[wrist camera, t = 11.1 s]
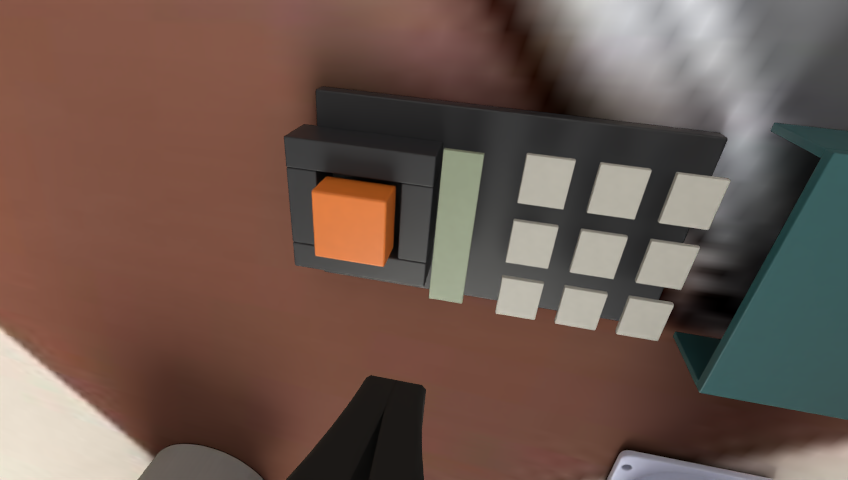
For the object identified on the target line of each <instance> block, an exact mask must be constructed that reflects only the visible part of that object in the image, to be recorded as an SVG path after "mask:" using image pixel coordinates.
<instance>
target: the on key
mask: <svg viewBox="0 0 848 480" xmlns="http://www.w3.org/2000/svg"><path fill="white" fill-rule="evenodd" d="M395 201H396V186H394V185H387V184H380V183H373V182H366V181H359V180H352V179H344V178H337V177H330V176H327V177H325V178H324V179H323V180H322V181H321V182H320V183H319V184H318V185H317V186H316V187H315V188H314V189H313V190H312V210H313V227H314V244H315V255H316V256H320V257H326V258H332V259H338V260H344V261H350V262H356V263H362V264H368V265H374V266H380V267H384V266H385V264H386V262H387V259H388V257H389V255H390V253H391V251H392V249H393V244H394V223H395Z"/></svg>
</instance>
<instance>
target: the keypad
mask: <svg viewBox="0 0 848 480" xmlns="http://www.w3.org/2000/svg"><path fill="white" fill-rule="evenodd" d="M483 160H484V153H480V152H472V151H465V150H457V149H449V148H444V151H443V161H442V171H441V181H440V191H439V201H438V211H437V221H436V231H435V240H434V250H433V260H432V270H431V280H430V290H429V298H432V299H438V300H444V301H450V302H456V303H462V301H463V294H464V288H465V281H466V274H467V268H468V261H469V254H470V247H471V241H472V234H473V227H474V221H475V214H476V207H477V201H478V194H479V187H480V180H481V174H482V167H483ZM575 162H576V160H575V159H572V158H564V157H556V156H549V155H541V154H533V153H527V155H526V160H525V165H524V170H523V175H522V180H521V185H520V190H519V195H518V200H517V203H521V204H528V205H535V206H542V207H549V208H556V209H564V205H565V201H566V197H567V193H568V189H569V186H570V182H571V178H572V174H573V170H574V166H575ZM651 171H652V170H651V169H650V168H642V167H635V166H627V165H619V164H611V163H603V162H600V165H599V168H598V172H597V175H596V178H595V182H594V185H593V189H592V192H591V196H590V199H589V203H588V206H587V210H586V211H587V213H592V214H599V215H606V216H613V217H620V218H627V219H635V217H636V214H637V211H638V208H639V205H640V202H641V200H642V197H643V194H644V191H645V188H646V185H647V183H648V180H649V177H650V174H651ZM730 181H731V180H729V179H728V178H721V177H713V176H705V175H697V174H689V173H682V172H676V174H675V177H674V179H673V182H672V185H671V187H670V190H669V192H668V195H667V198H666V200H665V203H664V205H663V208H662V211H661V213H660V216H659V218H658V222H659V223H662V224H670V225H677V226H684V227H691V228H698V229H705V230H709V227H710V225H711V223H712V221H713V219H714V216H715V214H716V212H717V210H718V208H719V205H720V203H721V201H722V199H723V197H724V194H725V192H726V190H727V188H728V186H729V183H730ZM558 228H559V227H558V225H554V224H547V223H541V222H534V221H527V220H520V219H514V220H513V225H512V230H511V235H510V240H509V245H508V250H507V255H506V262H507V263H514V264H520V265H527V266H533V267H539V268H546V269H548V266H549V263H550V259H551V255H552V251H553V247H554V243H555V239H556V236H557V232H558ZM627 239H628V236H627V235H623V234H616V233H609V232H602V231H595V230H589V229H581V230H580V234H579V237H578V241H577V244H576V248H575V251H574V255H573V258H572V262H571V265H570V268H569V271H570V272H571V273H577V274H584V275H590V276H596V277H603V278H609V279H614V276H615V273H616V270H617V267H618V265H619V262H620V259H621V256H622V253H623V250H624V248H625V245H626V242H627ZM699 249H700V247H699V246H698V245H692V244H685V243H678V242H671V241H664V240H657V239H650V242H649V244H648V247H647V250H646V252H645V255H644V257H643V260H642V263H641V265H640V268H639V270H638V273H637V276H636V278H635V281H636V283H641V284H647V285H653V286H660V287H666V288H673V289H679V290H681V289H682V287H683V285H684V282H685V280H686V278H687V276H688V274H689V271H690V269H691V267H692V265H693V263H694V260H695V258H696V256H697V254H698V252H699ZM543 286H544V282H543V281H537V280H531V279H525V278H519V277H512V276H506V275H502V280H501V285H500V290H499V295H498V300H497V305H496V311H495V313H497V314H503V315H509V316H515V317H520V318H526V319H532V320H535V317H536V313H537V309H538V305H539V301H540V297H541V293H542V290H543ZM607 296H608V294H607V292H606V291H599V290H593V289H587V288H581V287H574V286H568V285H565V286H564V289H563V293H562V296H561V300H560V303H559V306H558V310H557V313H556V317H555V320H554V321H555V324H561V325H567V326H573V327H579V328H585V329H590V330H595V329H596V327H597V324H598V321H599V318H600V315H601V313H602V310H603V307H604V304H605V301H606V298H607ZM673 306H674V304H673V302H668V301H661V300H655V299H649V298H643V297H637V296H630V295H629V296H628V299H627V302H626V304H625V307H624V309H623V312H622V315H621V317H620V320H619V322H618V325H617V328H616V330H615V332H616V334H620V335H625V336H631V337H637V338H643V339H649V340H655V341H658V339H659V337H660V335H661V333H662V331H663V328H664V326H665V324H666V322H667V320H668V317H669V315H670V313H671V311H672V309H673Z"/></svg>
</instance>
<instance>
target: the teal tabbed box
mask: <svg viewBox="0 0 848 480" xmlns="http://www.w3.org/2000/svg"><path fill="white" fill-rule="evenodd" d="M771 132H773V133H775V134H777V135H779V136H781V137H783V138H785V139H786V140H788V141H790V142H792V143H794V144H796V145H798V146H799V147H801V148H803V149H805V150H807V151H809V152H811V153H813V154H814V155H816V156H818V157H820V158H821V159H820V161H819V163H818V164H817V166H816V168H815V170H814V172H813V174H812V175H811V177H810V179H809V181H808V183H807V184H806V186H805V188H804V190H803V192H802V194H801V195H800V197H799V199H798V201H797V203H796V204H795V206H794V208H793V210H792V212H791V214H790V215H789V217H788V219H787V221H786V223H785V224H784V226H783V228H782V230H781V232H780V234H779V235H778V237H777V239H776V241H775V243H774V244H773V246H772V248H771V250H770V252H769V254H768V255H767V257H766V259H765V261H764V263H763V264H762V266H761V268H760V270H759V272H758V274H757V275H756V277H755V279H754V281H753V283H752V284H751V286H750V288H749V290H748V292H747V294H746V295H745V297H744V299H743V301H742V303H741V304H740V306H739V308H738V310H737V312H736V314H735V315H734V317H733V319H732V321H731V323H730V324H729V326H728V328H727V330H726V332H725V333H724V335H723V337H722V339H716V338H711V337H705V336H699V335H693V334H687V333H681V332H675V333H674V335H673V337H674V339H675V342H676V344H677V346H678V348H679V350H680V352H681V355H682V357H683V359H684V361H685V363H686V365H687V368H688V370H689V372H690V374H691V376H692V378H693V380H694V383H695V385H696V387H697V389H698V391H699V392H700V393H704V394H709V395H715V396H720V397H726V398H731V399H737V400H742V401H748V402H753V403H758V404H764V405H769V406H775V407H780V408H786V409H791V410H797V411H802V412H808V413H813V414H819V415H824V416H830V417H835V418H841V419H846V420H848V131H843V130H834V129H826V128H817V127H808V126H799V125H790V124H781V123H774V125H773V127H772V129H771Z"/></svg>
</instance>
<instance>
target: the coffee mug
mask: <svg viewBox="0 0 848 480" xmlns="http://www.w3.org/2000/svg"><path fill="white" fill-rule="evenodd" d="M138 480H263V479H262V477H261V476H260V475H258V474H257V473H256V472H255V471H254V470H253V469H251V468H250V467H249V466H247V465H246V464H244V463H243V462H241V461H240V460H238V459H236V458H234V457H232V456H230V455H228V454H226V453H224V452H221V451H219V450H216V449H213V448H209V447H205V446H200V445H193V444H176V445H172V446H169V447H166V448H164V449H163V450H161V451H160V452H159V453H158V454H157V456H156V457H155V458H154V459H153V461H152V462H151V463H150V465H149V466H148V467H147V468H146V470H145V471H144V472H143V474H142V475H141V476H140V478H139V479H138Z"/></svg>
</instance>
